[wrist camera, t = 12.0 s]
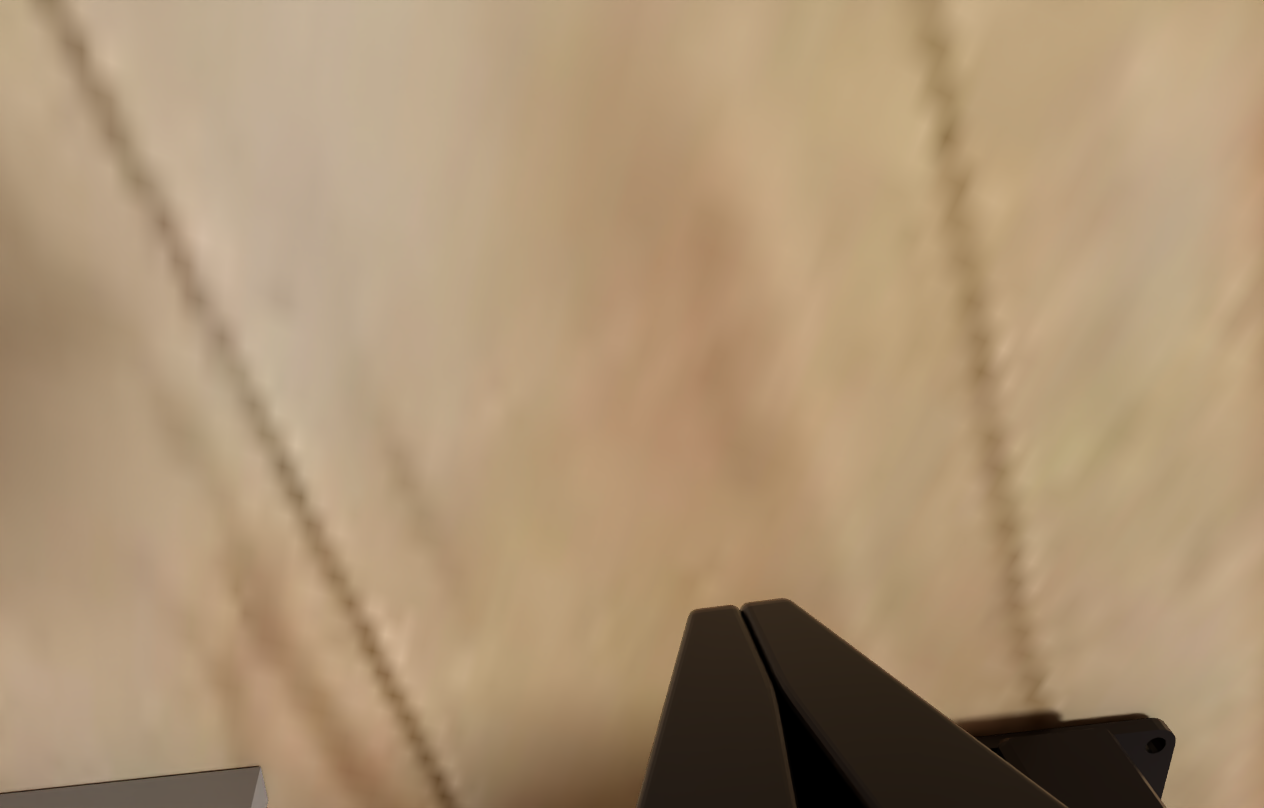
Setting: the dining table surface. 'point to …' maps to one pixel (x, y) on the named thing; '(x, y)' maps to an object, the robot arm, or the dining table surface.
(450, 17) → the dining table surface
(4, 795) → the gray three-sided bracket
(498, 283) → the dining table surface
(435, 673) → the dining table surface
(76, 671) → the dining table surface
